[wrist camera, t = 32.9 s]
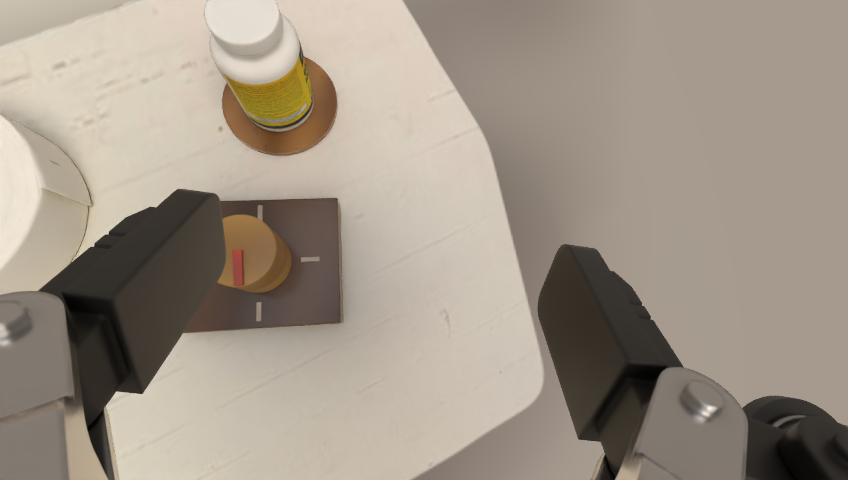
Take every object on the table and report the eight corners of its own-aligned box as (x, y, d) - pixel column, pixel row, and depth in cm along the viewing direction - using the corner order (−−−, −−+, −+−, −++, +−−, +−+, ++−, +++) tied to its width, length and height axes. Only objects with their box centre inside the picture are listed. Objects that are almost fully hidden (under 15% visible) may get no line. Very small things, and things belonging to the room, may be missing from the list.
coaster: (336, 56, 40) (335, 52, 39) (338, 154, 38) (338, 152, 37) (226, 54, 38) (223, 50, 38) (222, 156, 36) (220, 153, 36)
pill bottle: (329, 108, 38) (311, 22, 27) (272, 147, 37) (230, 73, 26) (287, 59, 38) (253, -45, 28) (229, 95, 37) (170, 1, 26)
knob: (226, 234, 32) (196, 216, 27) (290, 228, 33) (273, 210, 27) (228, 296, 31) (198, 290, 26) (293, 289, 32) (277, 282, 27)
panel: (340, 207, 37) (337, 197, 34) (343, 322, 35) (340, 322, 32) (196, 212, 35) (179, 201, 32) (191, 332, 33) (172, 333, 30)
